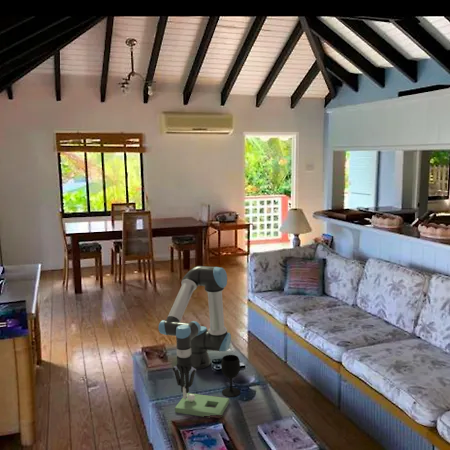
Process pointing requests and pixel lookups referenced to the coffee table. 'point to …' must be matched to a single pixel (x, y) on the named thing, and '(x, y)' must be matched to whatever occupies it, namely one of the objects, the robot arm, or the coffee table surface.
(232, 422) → the coffee table surface
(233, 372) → the wine glass
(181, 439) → the coffee table surface
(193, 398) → the ball
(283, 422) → the coffee table surface
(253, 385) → the coffee table surface
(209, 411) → the putting mat
